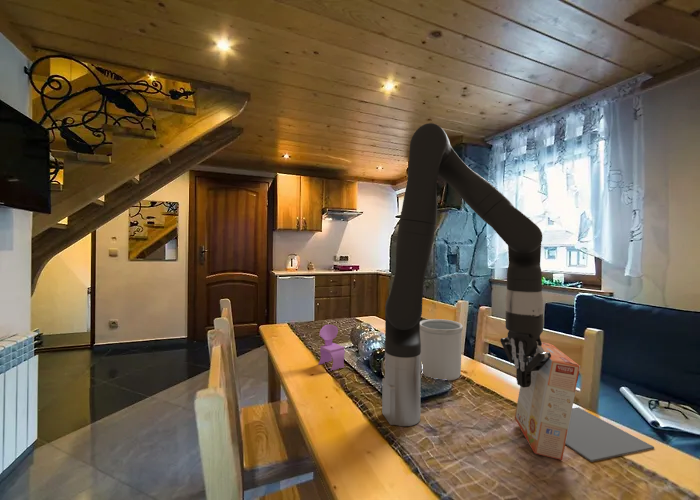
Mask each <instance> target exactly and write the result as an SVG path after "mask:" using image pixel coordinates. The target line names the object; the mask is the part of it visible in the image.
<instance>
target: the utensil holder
mask: <svg viewBox="0 0 700 500" xmlns="http://www.w3.org/2000/svg"><path fill="white" fill-rule="evenodd" d="M463 330H464V326H463V324H462V323H461V322H458V321H455V320H454V321H453V320H451V319H450V320H449V319H442V318H441V319H440V318H431V319H423V320H420V340H421V361H422V364H423V374H424V375H423V374H422V375H423V376H425V377H427V376H428V377H427V378H429V377H432V378H438V379H447V380H448V381H454V380H457V379H458V378H460V377H461V372H462V370H461V369H462V345H463V344H462V341H463V339H462V338H463V336H462V335H463V333H462V332H463ZM432 378H431V379H432Z"/></svg>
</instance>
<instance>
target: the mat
mask: <svg viewBox="0 0 700 500" xmlns="http://www.w3.org/2000/svg"><path fill="white" fill-rule="evenodd" d="M566 446H567V447H568V448H569V449H571V450H572V451H574V452H575V453H577V454H579V455H580V456H582V457H583V458H585V459H586V460H587V461H589V462H590V463H593V462H598V461H601V460H607V459H612V458H617V457H620V456H626V455H630V454H631V455H632V454H635V453H641V452H645V451H648V450H654V449H655V446H654V445H652V444H650V443H647V442H646V441H644V440H642V439H640V438H638V437H636V436H634V435H633V434H631V433H628V432H627V431H624V430H623V429H621V428H619V427H617V426H615V425H613V424H611V423H609V422H608V421H606V420H603V419H602V418H599V416H596V415H594V414H592V413H589V412H588V411H586V410H584V409H583V408H580V407H572V412H571V417H570V423H569V428H568V433H567V438H566V443H565V447H566Z"/></svg>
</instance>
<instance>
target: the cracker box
mask: <svg viewBox="0 0 700 500" xmlns="http://www.w3.org/2000/svg"><path fill="white" fill-rule="evenodd" d="M541 342H542V346H541V347H542V348H543V350H544V351H545V352H549V353H550V354H551V358H550V359H549V360H548V361H547V362H546V363H545V364H544V365H543V367H542V368H541V369H540V370H539V371H531V385H530V386H529V387H524V388H523V387H521V386H520V385H519V392H518V396H517V397H518V398H517V402H516V409H515V414H514V420H515V421H516V423H517V425H518V427H519V429H520V430H521V432H522V434H523V436H524V437H525V439H526V441H527V443H528V444H529V446H530V448H531V450H532V451H533V453H534V454H536V455H540V456H543V457H548V458H551V459H556V460H561V461H563V459H564V458H563V457H564V454H565V453H564V452H565V450H566V449H565V448H566V445H565V443H566V438H567V433H568V428H569V423H570V417H571V412H572V408H574V407H573V405H574V401H575V397H576V391H577V386H578V379H579V375H580V370H581V365H579V364H578V363H577V362H576V361H574V360H573V359H572V358H570V357H569V356H568V355H567V354H565V352H563V351H561V350H560V349H559V348H557V346H555V345H553V344H552V343H548V342H544V341H541ZM527 364H528V362H527Z"/></svg>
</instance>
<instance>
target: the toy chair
mask: <svg viewBox="0 0 700 500" xmlns="http://www.w3.org/2000/svg"><path fill="white" fill-rule="evenodd" d="M338 332H339V328H338V326H336V325H333V324H331V323H330V324H325V325H323V326H322V328H321V329H320V331H319V333H318V334H319V337H320V338H321V339H322V340H324V345H320V348H319V351H320V359H319V361H318V364H317V365H323V364H326V363H325V362H327V363H329V361H330V362H332V366H331V368H330V372H333V371H336V370H339V368H340V369H343V368H345V363H344V362H345V361H344V358H345V353H346V350H345V346H342V345H339V344H338V343H336V342H333V340H334V339H336V338H337V336H338ZM332 370H333V371H332Z"/></svg>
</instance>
